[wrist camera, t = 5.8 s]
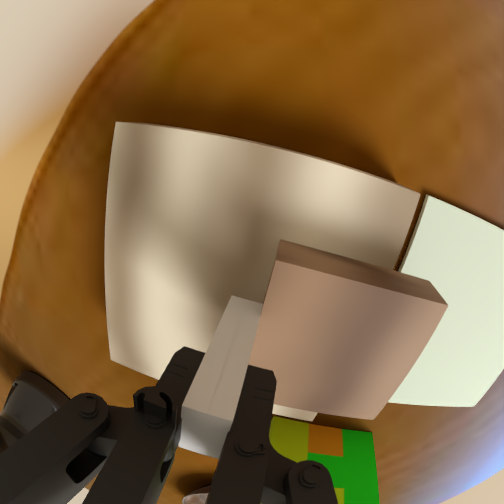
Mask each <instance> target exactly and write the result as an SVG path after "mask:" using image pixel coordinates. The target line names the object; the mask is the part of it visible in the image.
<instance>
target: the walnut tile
mask: <svg viewBox="0 0 504 504" xmlns="http://www.w3.org/2000/svg"><path fill="white" fill-rule="evenodd" d="M448 306H449V305H448V304H447V303H446V301H445V300H444V299H443V297H442V296H441V295H440V294H439V292H438V291H437V290H436V288H435V287H434V286H433V285H432V283H431V282H430V281H428V280H425V279H422V278H418V277H415V276H411V275H408V274H404V273H401V272H398V271H394V270H390V269H387V268H383V267H380V266H376V265H373V264H369V263H366V262H362V261H359V260H355V259H351V258H348V257H344V256H341V255H337V254H333V253H330V252H326V251H322V250H319V249H315V248H311V247H308V246H304V245H300V244H297V243H293V242H289V241H285V240H282V239H280V242H279V246H278V250H277V254H276V257H275V261H274V265H273V268H272V272H271V276H270V279H269V283H268V286H267V290H266V294H265V297H264V301H263V307H262V311H261V315H260V320H259V324H258V328H257V332H256V336H255V340H254V344H253V348H252V351H251V355H250V359H249V363H248V365H252V366H256V367H260V368H264V369H268V370H272V371H273V372H274V375H275V378H276V380H277V385H276V392H275V398H274V404H276V405H280V406H285V407H290V408H295V409H300V410H306V411H311V412H317V413H323V414H330V415H337V416H344V417H352V418H361V419H371V420H374V419H375V417H376V416H377V415H378V414H379V412H380V411H381V410H382V409H383V407H384V406H385V405H386V403H387V402H388V401H389V400H390V398H391V397H392V396H393V394H394V393H395V391H396V390H397V389H398V387H399V386H400V384H401V383H402V382H403V380H404V379H405V377H406V376H407V374H408V373H409V372H410V370H411V369H412V367H413V366H414V364H415V362H416V361H417V359H418V358H419V356H420V355H421V353H422V351H423V350H424V348H425V347H426V345H427V343H428V342H429V340H430V338H431V337H432V335H433V333H434V331H435V330H436V328H437V326H438V324H439V322H440V321H441V319H442V317H443V315H444V313H445V311H446V309H447V307H448Z"/></svg>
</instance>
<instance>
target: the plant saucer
mask: <svg viewBox="0 0 504 504" xmlns="http://www.w3.org/2000/svg"><path fill="white" fill-rule="evenodd" d="M210 486H211V485H210ZM210 486H206V487H202V488H200V489H197V490H195V491H193V492H191V493H189V494H188V495H186V496H185V497H184V498H183V499H182V502H183V504H205V502H206V499H207V496H208V493H209V489H210Z"/></svg>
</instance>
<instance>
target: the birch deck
mask: <svg viewBox="0 0 504 504" xmlns="http://www.w3.org/2000/svg"><path fill="white" fill-rule="evenodd" d="M419 198H420V193H417V192H415V191H413V190H411V189H409V188H407V187H405V186H403V185H400V184H398V183H396V182H393V181H390V180H387V179H385V178H382V177H379V176H376V175H373V174H370V173H367V172H364V171H361V170H358V169H355V168H352V167H349V166H346V165H342V164H339V163H336V162H333V161H329V160H326V159H322V158H319V157H315V156H312V155H308V154H304V153H301V152H297V151H293V150H289V149H285V148H281V147H277V146H273V145H269V144H264V143H260V142H255V141H251V140H246V139H241V138H237V137H232V136H226V135H221V134H216V133H210V132H205V131H199V130H193V129H186V128H180V127H173V126H165V125H158V124H149V123H133V122H116V124H115V130H114V137H113V144H112V151H111V159H110V168H109V177H108V188H107V201H106V219H105V297H106V314H107V327H108V338H109V348H110V356H111V360H112V361H115V362H117V363H119V364H121V365H124V366H126V367H128V368H131V369H133V370H135V371H138V372H140V373H143V374H145V375H148V376H150V377H153V378H155V379H158V380H159V379H160V377H161V375H162V374H163V372H164V371H165V369H166V367H167V365H168V364H169V362H170V360H171V358H172V356H173V355H174V353H175V352H176V351H178V350H179V349H181V348H182V347H184V346H185V347H188V348H192V349H195V350H198V351H201V352H204V353H206V351H207V349H208V347H209V344H210V342H211V340H212V338H213V336H214V333H215V331H216V329H217V327H218V325H219V322H220V320H221V318H222V316H223V314H224V311H225V309H226V307H227V305H228V303H229V300H230V298H231V296H236V297H239V298H243V299H247V300H250V301H254V302H258V303H261V304H263V301H264V297H265V294H266V290H267V286H268V283H269V279H270V276H271V272H272V268H273V265H274V261H275V257H276V254H277V250H278V246H279V242H280V239H282V240H285V241H289V242H293V243H297V244H300V245H304V246H308V247H311V248H315V249H319V250H322V251H326V252H330V253H333V254H337V255H341V256H344V257H348V258H351V259H355V260H359V261H362V262H366V263H369V264H373V265H376V266H380V267H383V268H387V269H390V270H393V269H394V267H395V264H396V262H397V259H398V257H399V254H400V252H401V249H402V246H403V244H404V241H405V238H406V236H407V233H408V230H409V227H410V225H411V222H412V219H413V216H414V213H415V210H416V207H417V204H418V201H419ZM272 414H276V415H281V416H286V417H291V418H296V419H301V420H307V421H313V419H314V418H315V416H316V415H317V412H311V411H306V410H300V409H295V408H290V407H285V406H280V405H276V404H274V405H273V412H272Z"/></svg>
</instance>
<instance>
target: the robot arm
mask: <svg viewBox="0 0 504 504" xmlns="http://www.w3.org/2000/svg"><path fill="white" fill-rule="evenodd" d="M262 307H263V304H261V303H258V302H254V301H250V300H247V299H243V298H239V297H236V296H231V298H230V300H229V303H228V305H227V307H226V309H225V311H224V314H223V316H222V318H221V320H220V322H219V325H218V327H217V329H216V331H215V333H214V336H213V338H212V340H211V342H210V344H209V347H208V349H207V351H206V353H204V352H201V351H198V350H195V349H192V348H188V347H185V346H184V347H182V348H181V349H179V350H178V351H176V352H175V353H174V355H173V356H172V358H171V360H170V362H169V364H168V365H167V367H166V369H165V371H164V372H163V374H162V375H161V377H160V379H159V381H158V382H157V384H156V386H152V387H144V388H142V389H139V390H138V391H137V392H136V393H135V394H134V395H133V400H134V407H132V408H123V407H116V406H110V405H107V403H106V402H105V401H104V400H103V398H102V397H100V396H98V395H96V394H92V393H82V394H79V395H77V396H75V397H73V398H72V399H71V400H69V399H68V398H67V397H66V396H65V395H64V394H63V393H62V392H61V391H59V390H58V389H57V388H56V387H54V386H53V385H52V384H51V383H49V382H48V381H47V380H45V379H44V378H42V377H41V376H39V375H37V374H35V373H33V372H30V371H23V372H22V373H21V374H20V375H19V376H18V377H17V378H16V379H15V380H14V382H13V386H12V388H11V390H10V392H9V394H8V397H7V400H6V402H5V405H4V408H3V410H2V412H1V414H0V504H67V503H68V502H69V501H70V500H71V499H72V498H73V497H74V496H75V495H76V494H77V493H79V492H80V491H81V490H82V489H83V488H84V487H85V486H86V485H87V484H88V483H89V482H90V481H91V480H92V479H93V478H94V477H95V476H96V475H97V474H98V473H99V472H100V473H99V474H98V476H97V478H96V480H95V482H94V483H93V485H92V487H91V489H90V491H89V493H88V494H87V496H86V498H85V500H84V501H83V503H82V504H156V503H157V500H158V498H159V495H160V493H161V491H162V488H163V486H164V483H165V481H166V478H167V476H168V473H169V471H170V469H171V466H172V464H173V461H174V456H175V451H176V449H177V446H178V444H179V447H182V448H185V449H188V450H191V451H194V452H197V453H200V454H203V455H207V456H210V457H214V458H217V459H219V460H218V464H217V467H216V470H215V473H214V476H213V479H212V483H211V486H210V489H209V493H208V496H207V499H206V502H205V504H260V503H261V504H338V501H337V497H336V493H335V489H334V485H333V481H332V478H331V475H330V473H329V471H328V469H327V468H326V467H325V466H324V465H323V464H321V463H319V462H316V461H313V460H304V461H300V462H298V463H297V462H295V461H293V460H291V459H289V458H286V457H284V456H283V455H281V454H279V453H278V452H277V451H276V450H275V449H274V448H273V446H272V445H271V443H270V439H269V431H270V425H271V418H272V412H273V405H274V398H275V392H276V385H277V380H276V378H275V375H274V372H273V371H272V370H268V369H264V368H260V367H256V366H252V365H248V363H249V359H250V355H251V351H252V348H253V344H254V340H255V336H256V332H257V328H258V324H259V320H260V315H261V311H262Z"/></svg>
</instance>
